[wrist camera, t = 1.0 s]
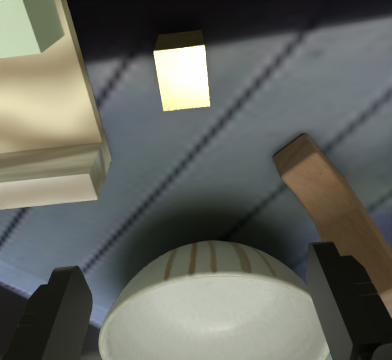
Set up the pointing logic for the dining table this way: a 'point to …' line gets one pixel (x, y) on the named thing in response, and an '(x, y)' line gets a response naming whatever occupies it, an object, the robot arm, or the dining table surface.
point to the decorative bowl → (213, 309)
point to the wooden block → (336, 211)
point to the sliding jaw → (28, 27)
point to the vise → (50, 126)
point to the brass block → (182, 70)
